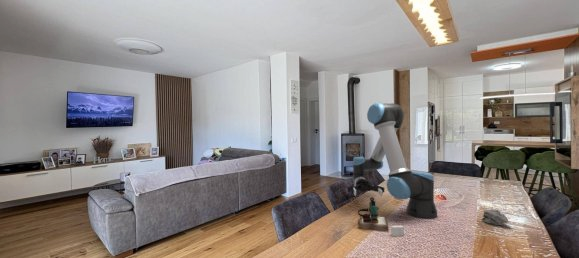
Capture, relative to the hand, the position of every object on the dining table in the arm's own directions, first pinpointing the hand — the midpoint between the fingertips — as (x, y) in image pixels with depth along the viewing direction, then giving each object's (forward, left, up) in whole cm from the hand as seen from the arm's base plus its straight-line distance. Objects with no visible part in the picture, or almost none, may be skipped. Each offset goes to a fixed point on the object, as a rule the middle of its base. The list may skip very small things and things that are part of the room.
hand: (368, 193), depth 134 cm
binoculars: (0, +11, -10) cm, 16 cm away
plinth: (-2, +10, -13) cm, 16 cm away
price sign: (-12, +19, -13) cm, 26 cm away
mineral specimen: (-60, -6, -13) cm, 61 cm away
